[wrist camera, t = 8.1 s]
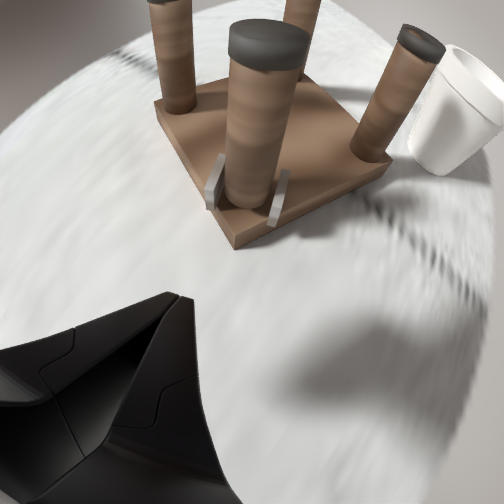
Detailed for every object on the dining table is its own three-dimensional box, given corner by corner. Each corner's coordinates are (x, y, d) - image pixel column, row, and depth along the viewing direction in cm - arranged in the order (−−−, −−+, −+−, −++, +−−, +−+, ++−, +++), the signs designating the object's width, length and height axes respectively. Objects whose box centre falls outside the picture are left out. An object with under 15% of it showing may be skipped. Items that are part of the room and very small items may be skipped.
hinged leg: (265, 215, 18) (305, 52, 8) (216, 202, 18) (218, 36, 8) (276, 178, 19) (313, 28, 10) (230, 166, 20) (242, 15, 10)
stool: (386, 182, 25) (468, 63, 11) (229, 263, 21) (237, 84, 7) (288, 80, 30) (311, -29, 16) (150, 122, 26) (124, -11, 12)
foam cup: (386, 118, 29) (430, 33, 17) (441, 133, 30) (489, 65, 18) (411, 182, 25) (481, 91, 13) (468, 193, 26) (535, 125, 14)
